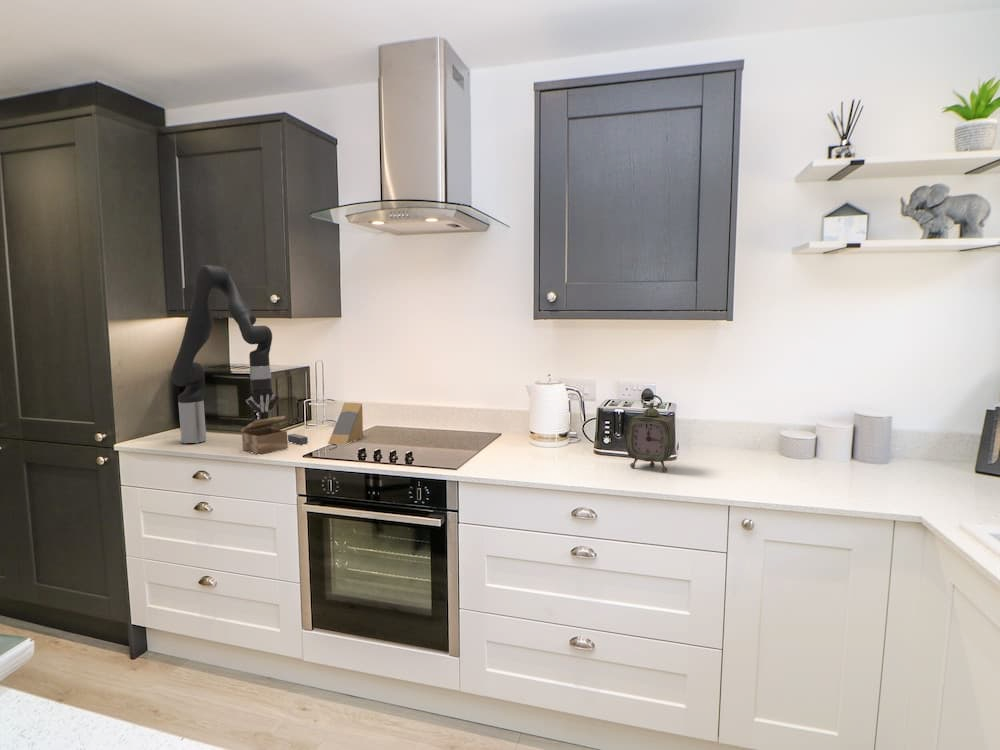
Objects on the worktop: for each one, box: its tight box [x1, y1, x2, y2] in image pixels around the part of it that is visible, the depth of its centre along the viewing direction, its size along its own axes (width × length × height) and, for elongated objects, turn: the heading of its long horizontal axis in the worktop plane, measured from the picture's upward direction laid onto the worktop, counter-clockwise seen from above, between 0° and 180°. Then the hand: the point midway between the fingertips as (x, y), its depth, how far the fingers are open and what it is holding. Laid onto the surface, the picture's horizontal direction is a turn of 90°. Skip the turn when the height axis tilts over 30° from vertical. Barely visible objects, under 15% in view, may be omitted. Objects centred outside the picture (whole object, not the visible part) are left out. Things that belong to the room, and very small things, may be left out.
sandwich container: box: [327, 402, 364, 444], centre depth 237 cm, size 9×15×15 cm, turn 166°
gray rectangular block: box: [287, 433, 309, 446], centre depth 235 cm, size 10×3×3 cm, turn 50°
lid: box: [240, 415, 286, 433], centre depth 224 cm, size 12×12×1 cm
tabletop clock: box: [625, 394, 676, 473], centre depth 191 cm, size 14×9×25 cm, turn 59°
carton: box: [241, 427, 289, 455], centre depth 224 cm, size 12×12×7 cm
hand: (263, 421), depth 223 cm, fingers closed
